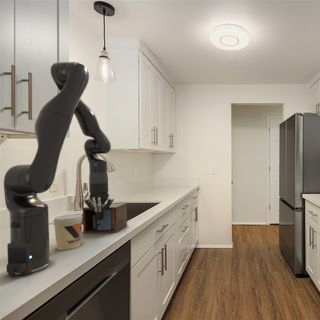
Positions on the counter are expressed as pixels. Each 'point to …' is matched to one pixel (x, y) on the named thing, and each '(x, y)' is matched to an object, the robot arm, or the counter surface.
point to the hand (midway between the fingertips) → (99, 219)
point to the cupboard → (116, 219)
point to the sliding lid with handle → (103, 221)
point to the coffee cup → (68, 231)
